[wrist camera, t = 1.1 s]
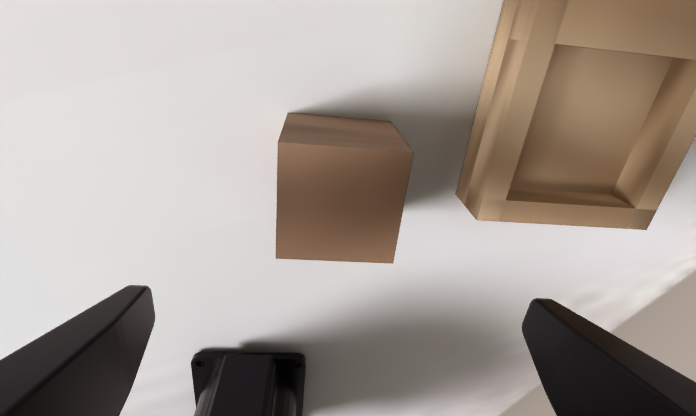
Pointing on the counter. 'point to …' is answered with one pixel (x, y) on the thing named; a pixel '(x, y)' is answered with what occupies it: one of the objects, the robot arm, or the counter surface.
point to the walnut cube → (340, 189)
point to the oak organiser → (582, 112)
